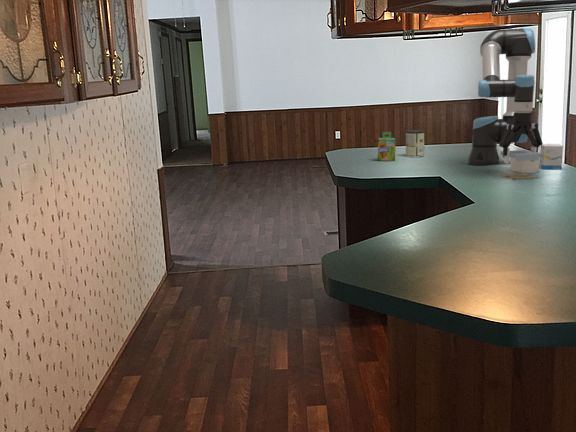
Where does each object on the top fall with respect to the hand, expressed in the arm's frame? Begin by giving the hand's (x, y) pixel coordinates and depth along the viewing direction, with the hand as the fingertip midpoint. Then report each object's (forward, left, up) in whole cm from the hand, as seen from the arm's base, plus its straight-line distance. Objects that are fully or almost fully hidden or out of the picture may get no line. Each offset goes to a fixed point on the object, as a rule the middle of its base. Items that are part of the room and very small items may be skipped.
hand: (519, 162), depth 271 cm
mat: (0, 0, -7) cm, 7 cm away
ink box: (-15, +26, -7) cm, 30 cm away
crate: (-12, +10, -7) cm, 17 cm away
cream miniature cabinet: (-81, -13, -7) cm, 82 cm away
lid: (0, 0, +3) cm, 3 cm away
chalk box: (-72, -33, -7) cm, 80 cm away
